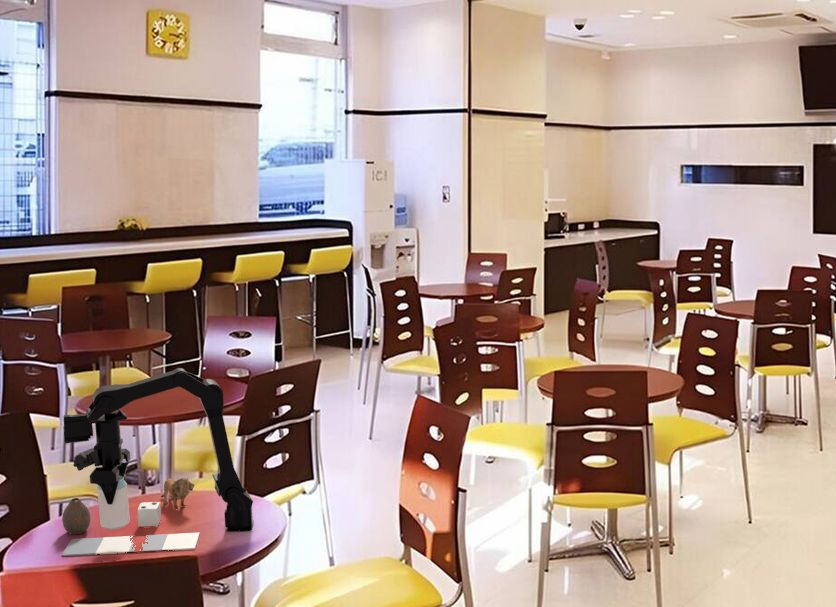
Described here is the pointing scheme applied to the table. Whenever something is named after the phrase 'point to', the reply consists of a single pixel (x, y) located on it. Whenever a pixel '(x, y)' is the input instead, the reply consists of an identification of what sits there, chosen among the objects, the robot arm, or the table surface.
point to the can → (114, 507)
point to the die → (149, 514)
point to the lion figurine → (177, 490)
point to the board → (130, 544)
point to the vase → (76, 517)
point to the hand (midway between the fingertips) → (113, 498)
